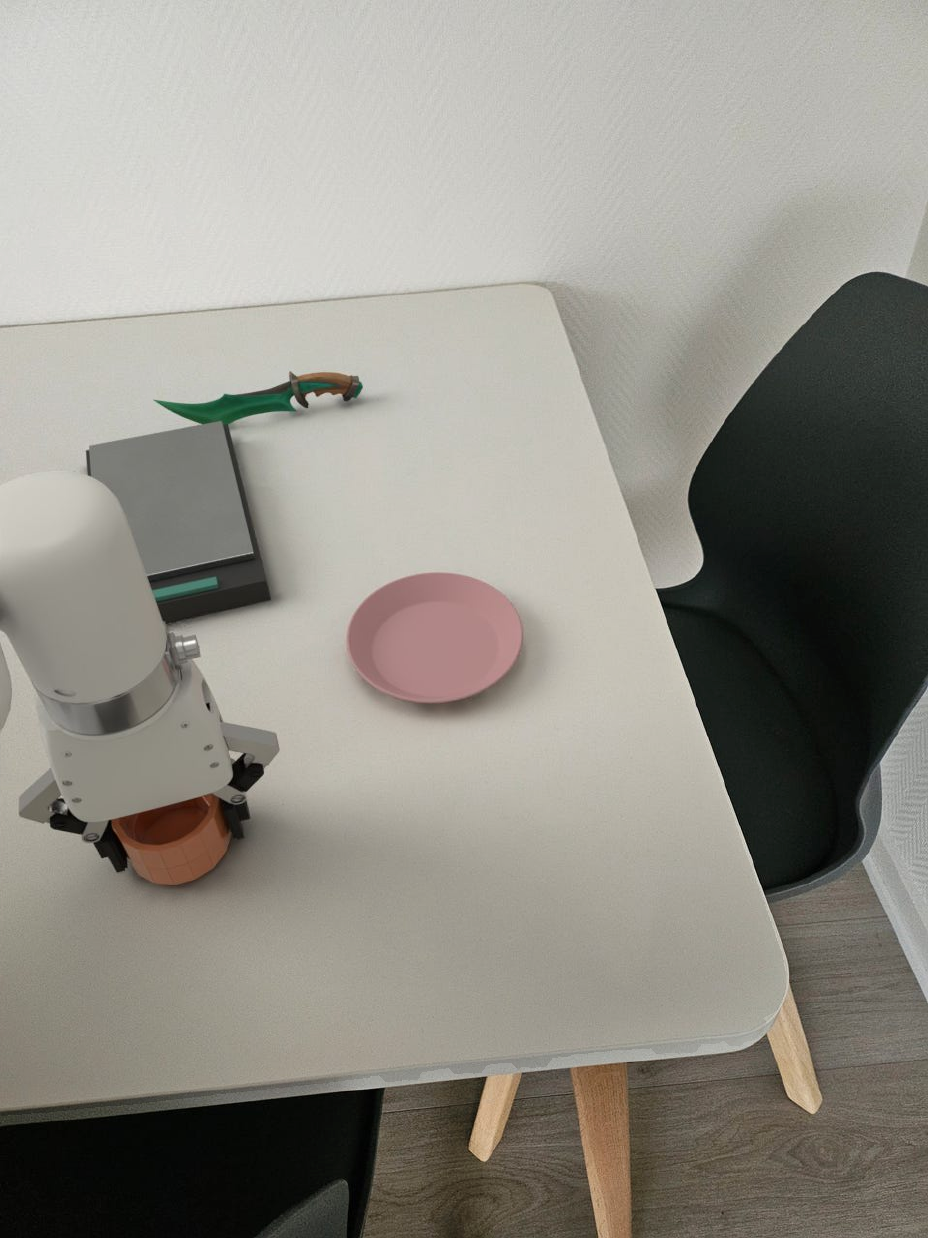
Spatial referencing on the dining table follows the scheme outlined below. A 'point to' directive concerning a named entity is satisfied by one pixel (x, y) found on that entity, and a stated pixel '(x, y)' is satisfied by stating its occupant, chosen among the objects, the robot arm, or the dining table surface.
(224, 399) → the knife
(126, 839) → the bowl
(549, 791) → the dining table surface
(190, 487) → the scale
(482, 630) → the plate
